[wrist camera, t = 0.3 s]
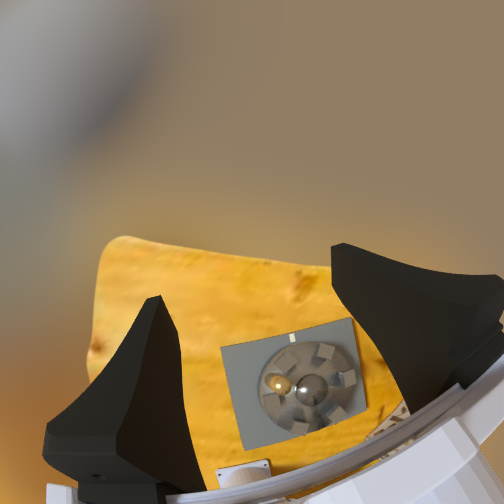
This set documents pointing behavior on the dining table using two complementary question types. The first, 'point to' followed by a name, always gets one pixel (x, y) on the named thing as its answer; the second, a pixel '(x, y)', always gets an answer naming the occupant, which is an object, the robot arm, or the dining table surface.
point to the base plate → (253, 360)
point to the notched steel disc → (305, 387)
